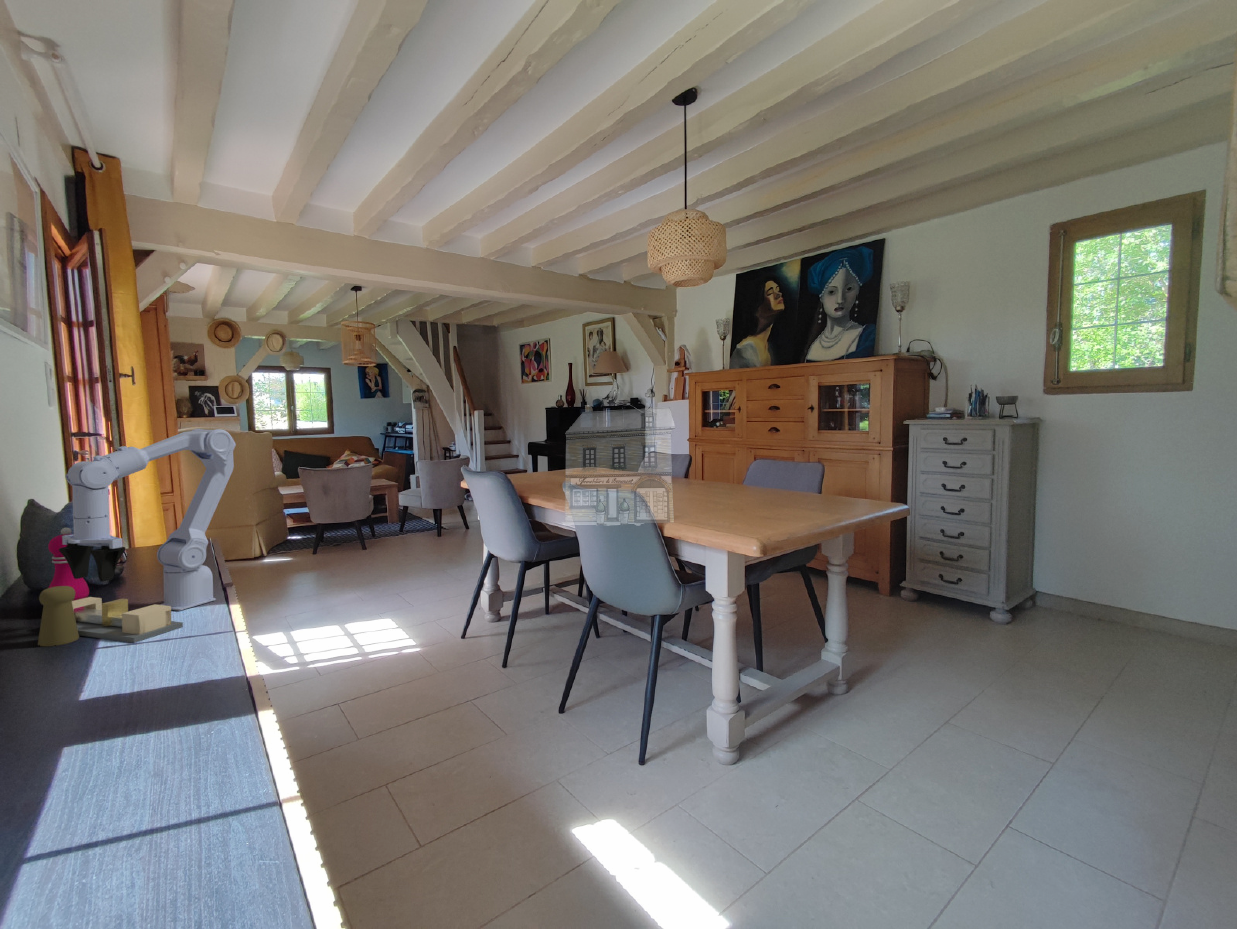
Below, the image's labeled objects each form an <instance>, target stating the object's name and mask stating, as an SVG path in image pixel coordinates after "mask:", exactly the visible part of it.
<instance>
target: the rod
mask: <svg viewBox="0 0 1237 929" xmlns="http://www.w3.org/2000/svg"><path fill="white" fill-rule="evenodd" d="M125 612H129V600H128V598H120V599H115V600H111V601H106V602H102V610H98V609H89V608H77V609H74V615H75V620H76V621H80V622H88V623H96V624H102V625H103V626H110V625H111V626H119V627H122V613H125Z"/></svg>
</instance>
